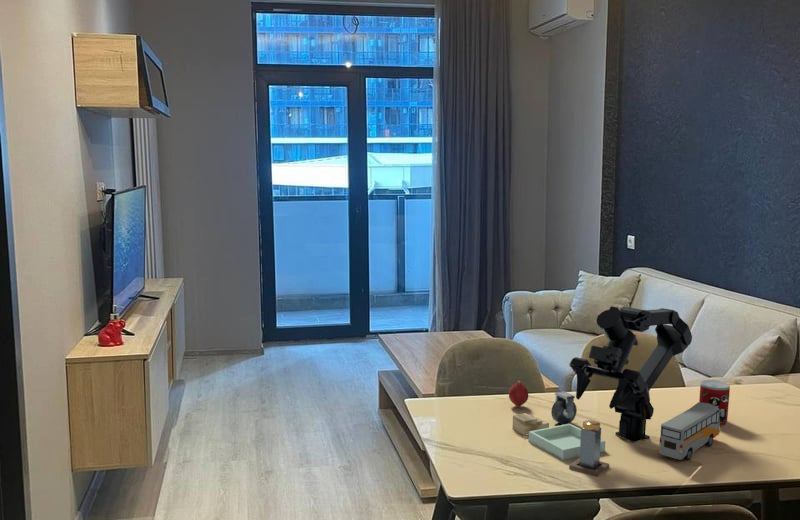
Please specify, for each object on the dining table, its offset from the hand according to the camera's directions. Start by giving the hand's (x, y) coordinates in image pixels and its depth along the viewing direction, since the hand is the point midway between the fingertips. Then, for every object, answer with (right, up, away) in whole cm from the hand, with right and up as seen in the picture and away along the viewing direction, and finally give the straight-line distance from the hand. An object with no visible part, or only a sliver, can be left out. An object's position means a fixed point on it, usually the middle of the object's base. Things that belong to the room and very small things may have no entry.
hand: (593, 403), depth 178 cm
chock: (-12, -12, +20) cm, 26 cm away
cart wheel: (-2, -11, +25) cm, 27 cm away
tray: (-5, -13, +8) cm, 16 cm away
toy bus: (+27, -14, +8) cm, 31 cm away
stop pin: (-3, -14, -6) cm, 16 cm away
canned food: (+42, -11, +29) cm, 52 cm away
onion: (-12, -9, +39) cm, 42 cm away
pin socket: (-3, -15, -5) cm, 16 cm away
